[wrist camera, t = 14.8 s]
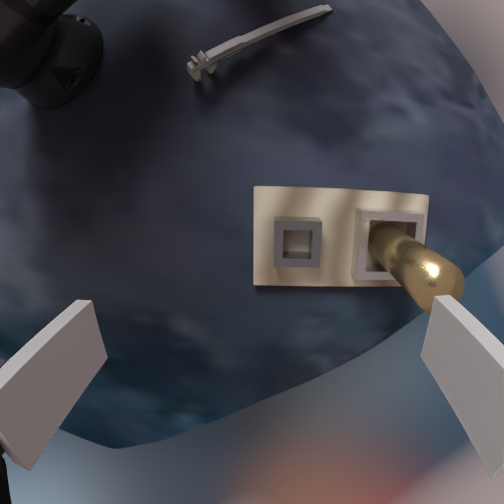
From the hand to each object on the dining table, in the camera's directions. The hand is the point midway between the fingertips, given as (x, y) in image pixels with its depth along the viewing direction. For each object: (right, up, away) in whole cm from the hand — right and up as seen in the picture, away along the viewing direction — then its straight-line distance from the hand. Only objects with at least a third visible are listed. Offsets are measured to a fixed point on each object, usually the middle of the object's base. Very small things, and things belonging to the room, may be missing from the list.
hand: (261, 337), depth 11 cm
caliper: (+1, +30, +22) cm, 37 cm away
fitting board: (+11, +5, +27) cm, 30 cm away
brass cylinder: (+16, +4, +25) cm, 30 cm away
